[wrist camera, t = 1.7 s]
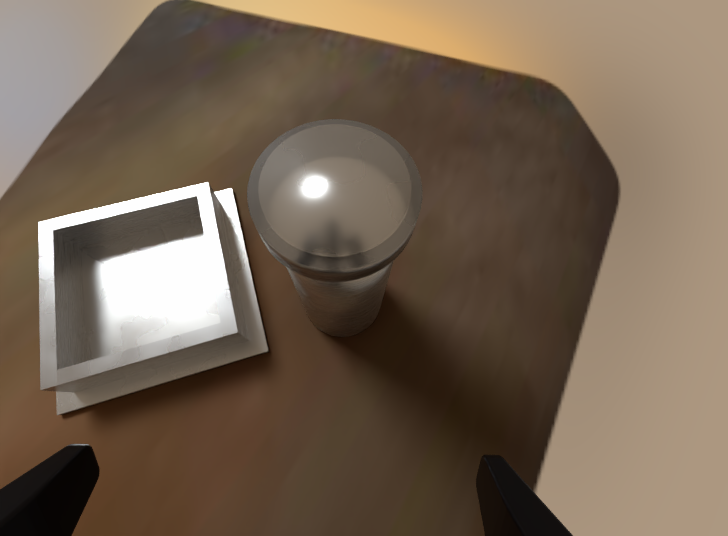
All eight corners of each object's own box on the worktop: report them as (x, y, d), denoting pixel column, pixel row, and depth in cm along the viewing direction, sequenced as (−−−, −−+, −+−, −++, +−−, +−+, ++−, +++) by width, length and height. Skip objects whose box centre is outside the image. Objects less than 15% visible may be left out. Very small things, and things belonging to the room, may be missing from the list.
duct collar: (269, 351, 23) (258, 343, 20) (60, 415, 21) (20, 415, 19) (233, 190, 27) (220, 166, 24) (55, 233, 25) (21, 212, 23)
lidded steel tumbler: (404, 291, 25) (456, 173, 13) (350, 362, 23) (350, 304, 11) (336, 241, 26) (323, 90, 14) (279, 306, 24) (207, 196, 12)
